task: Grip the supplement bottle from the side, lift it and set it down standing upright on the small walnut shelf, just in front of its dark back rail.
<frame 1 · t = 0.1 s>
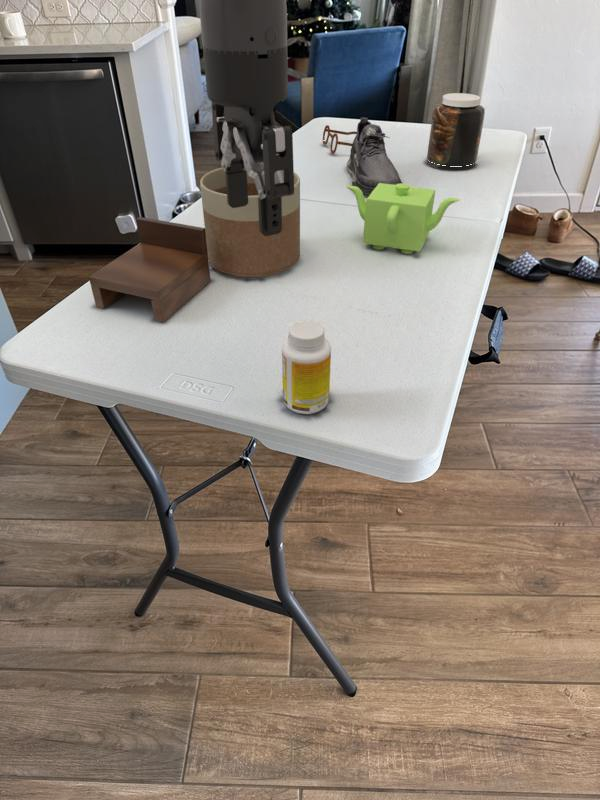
hand: (253, 219, 61), 20 cm above the table, tool pointing down, fingers open, 8 cm apart
supplement bottle: (305, 402, 70), on the table
shelf: (155, 293, 91), on the table
planter: (254, 260, 100), on the table
glasses: (351, 149, 153), on the table
teapot: (395, 244, 106), on the table
shoe: (371, 183, 132), on the table
jar: (450, 164, 143), on the table
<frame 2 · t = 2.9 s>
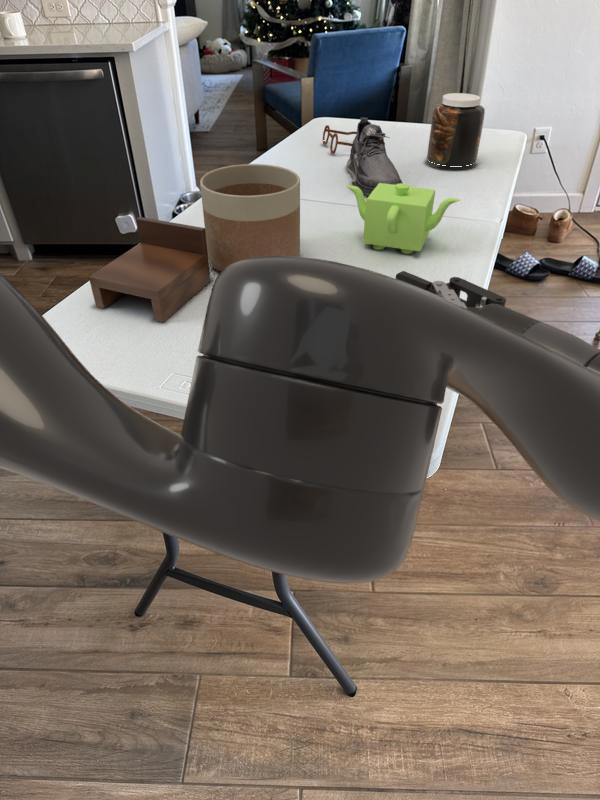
hand: (368, 295, 54), 18 cm above the table, tool horizontal, fingers open, 8 cm apart
nothing on the table moved.
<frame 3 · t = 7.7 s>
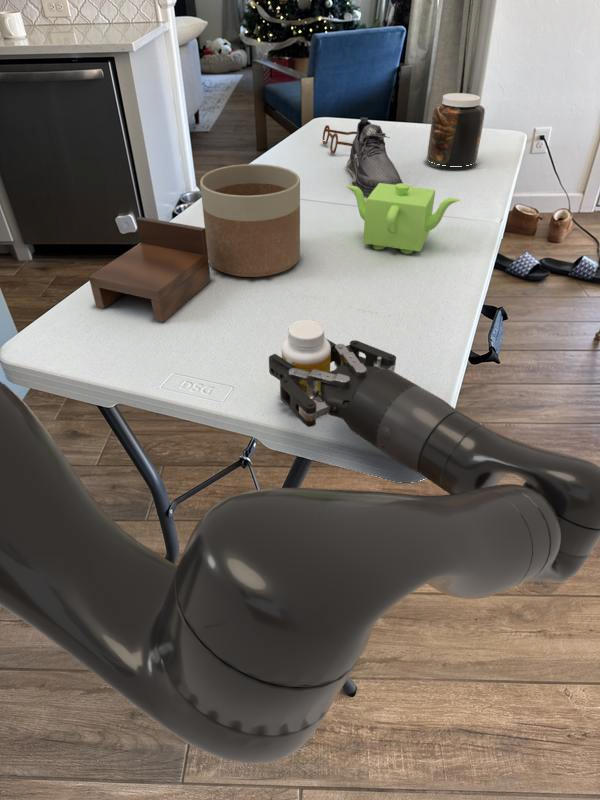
hand: (291, 351, 67), 6 cm above the table, tool horizontal, fingers closed on supplement bottle, 5 cm apart
supplement bottle: (305, 402, 70), on the table, touching gripper
everything else where it was.
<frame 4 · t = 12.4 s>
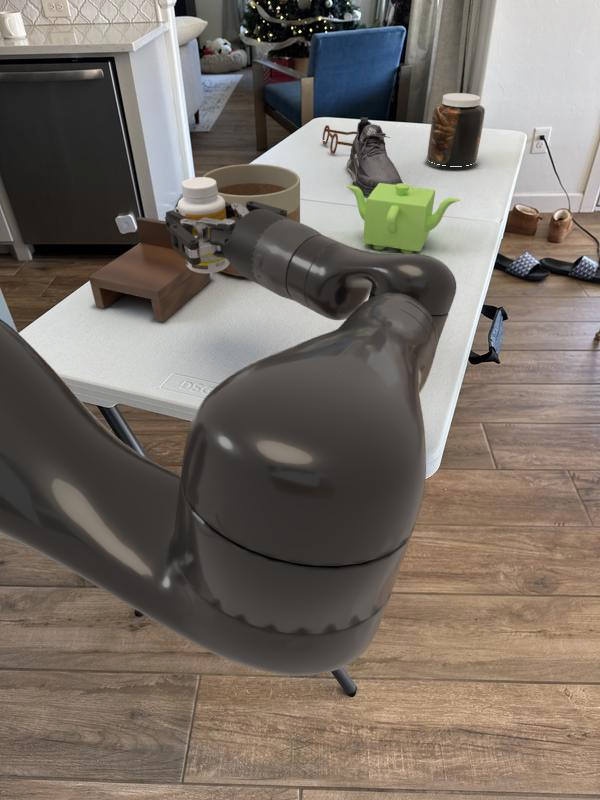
hand: (191, 212, 70), 18 cm above the table, tool horizontal, fingers closed on supplement bottle, 5 cm apart
supplement bottle: (208, 266, 72), point 11 cm above the table, touching gripper
everything else where it was.
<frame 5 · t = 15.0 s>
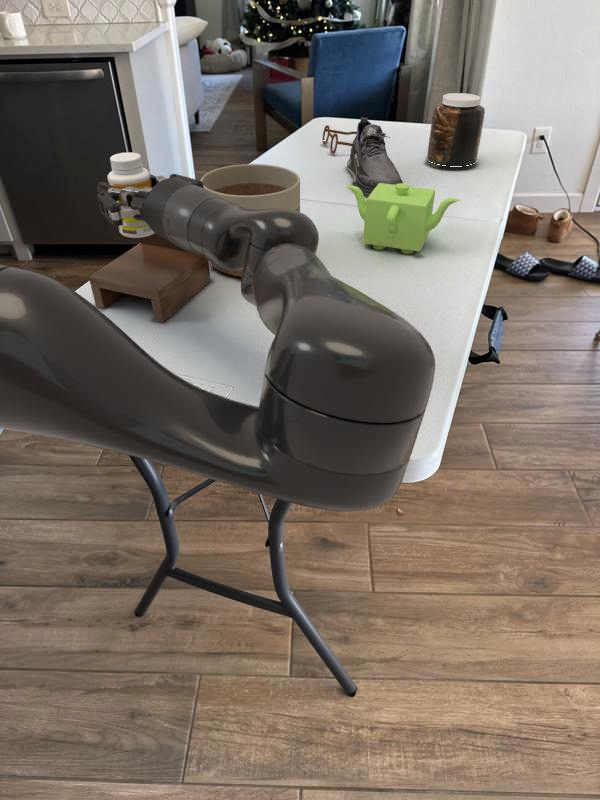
hand: (122, 184, 80), 17 cm above the table, tool horizontal, fingers closed on supplement bottle, 5 cm apart
supplement bottle: (139, 233, 82), point 11 cm above the table, touching gripper
everything else where it was.
when the fingers open (11 cm above the table, at t = 17.2 s): supplement bottle stays where it is, resting on shelf.
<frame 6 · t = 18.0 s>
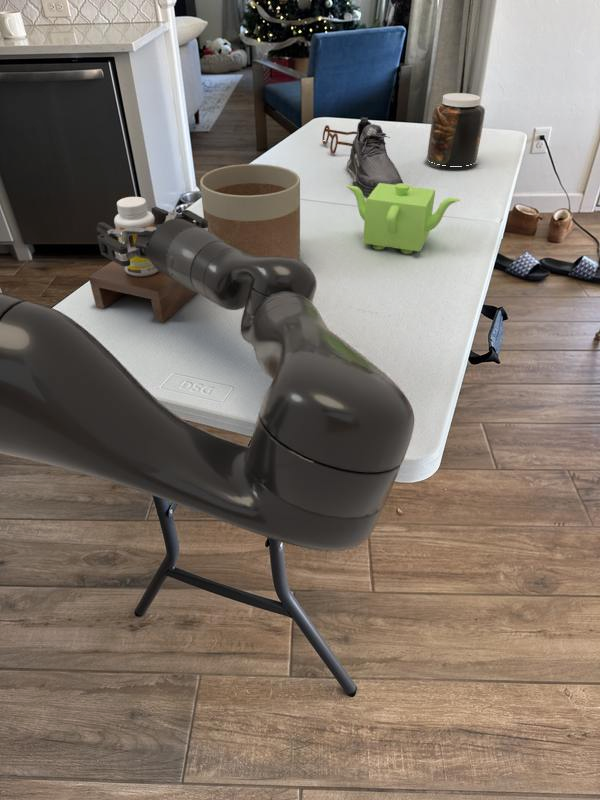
hand: (128, 221, 82), 12 cm above the table, tool horizontal, fingers open, 8 cm apart
supplement bottle: (143, 270, 86), point 5 cm above the table, touching shelf
everything else where it was.
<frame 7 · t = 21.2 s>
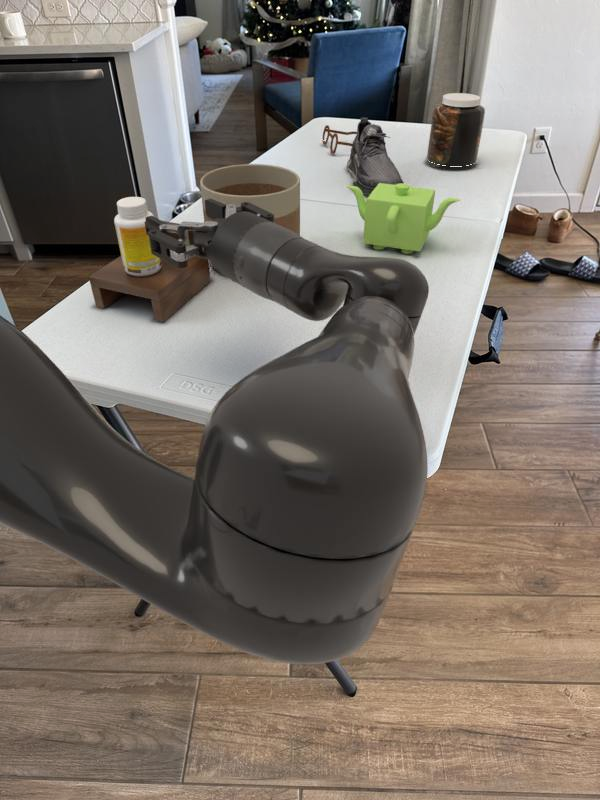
hand: (179, 215, 71), 17 cm above the table, tool horizontal, fingers open, 8 cm apart
nothing on the table moved.
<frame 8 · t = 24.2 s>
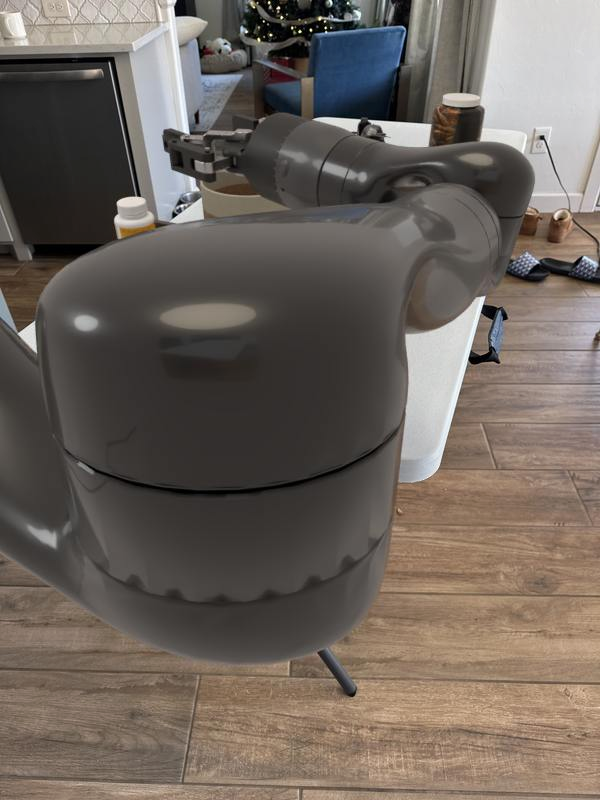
hand: (202, 132, 60), 28 cm above the table, tool horizontal, fingers open, 8 cm apart
nothing on the table moved.
at the end: supplement bottle inside the target area on the shelf (1.0 cm from its centre), point 4.8 cm above the shelf's base; supplement bottle tilted 0°; the gripper is holding nothing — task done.
